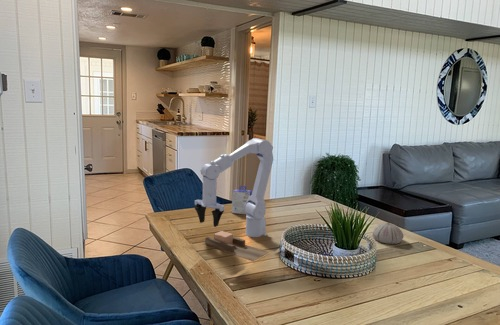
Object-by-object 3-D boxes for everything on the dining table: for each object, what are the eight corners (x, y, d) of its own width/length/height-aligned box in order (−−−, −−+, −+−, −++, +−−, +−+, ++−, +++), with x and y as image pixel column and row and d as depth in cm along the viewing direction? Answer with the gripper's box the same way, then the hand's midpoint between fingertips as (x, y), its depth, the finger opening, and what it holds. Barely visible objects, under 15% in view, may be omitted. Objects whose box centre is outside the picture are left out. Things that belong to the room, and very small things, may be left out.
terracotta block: (221, 240, 166) (221, 230, 165) (232, 244, 162) (232, 234, 162) (213, 244, 162) (214, 233, 161) (225, 247, 158) (225, 237, 158)
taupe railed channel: (220, 237, 172) (220, 230, 171) (270, 253, 157) (270, 245, 156) (199, 247, 161) (199, 239, 160) (251, 264, 146) (251, 255, 145)
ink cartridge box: (251, 212, 211) (252, 186, 209) (249, 215, 206) (250, 188, 203) (233, 210, 213) (234, 184, 210) (231, 213, 208) (232, 186, 205)
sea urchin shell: (392, 248, 168) (394, 230, 166) (365, 238, 178) (367, 222, 176) (408, 242, 176) (410, 225, 175) (381, 233, 186) (383, 217, 185)
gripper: (189, 191, 162) (189, 222, 164) (217, 197, 154) (216, 230, 156) (201, 188, 168) (200, 218, 170) (227, 194, 160) (227, 225, 162)
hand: (208, 224), depth 163 cm, fingers open, 7 cm apart
